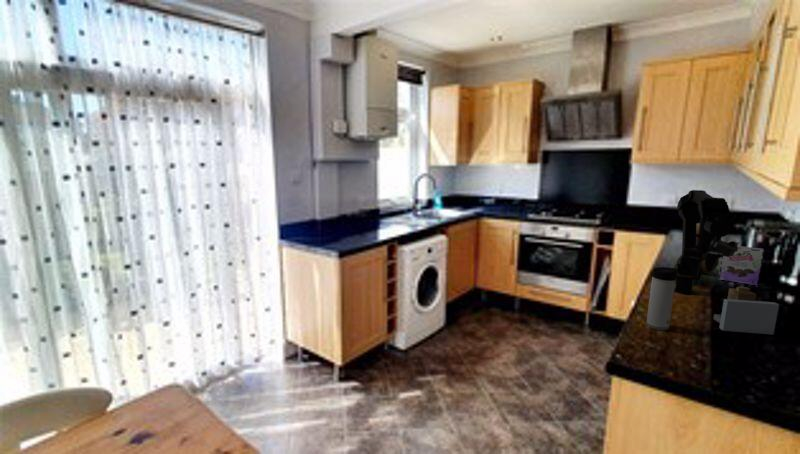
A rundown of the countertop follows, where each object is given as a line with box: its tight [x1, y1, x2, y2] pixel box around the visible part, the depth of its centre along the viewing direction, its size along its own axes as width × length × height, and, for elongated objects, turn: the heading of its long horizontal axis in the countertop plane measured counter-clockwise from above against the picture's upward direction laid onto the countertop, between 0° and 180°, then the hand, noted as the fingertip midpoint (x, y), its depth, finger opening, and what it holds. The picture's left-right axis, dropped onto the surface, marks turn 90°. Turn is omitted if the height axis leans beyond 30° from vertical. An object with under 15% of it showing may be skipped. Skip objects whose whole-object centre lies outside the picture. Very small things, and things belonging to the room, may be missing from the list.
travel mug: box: [646, 266, 678, 331], centre depth 125 cm, size 6×7×20 cm
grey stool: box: [713, 298, 780, 336], centre depth 127 cm, size 10×14×10 cm
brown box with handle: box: [727, 286, 757, 301], centre depth 127 cm, size 5×5×13 cm
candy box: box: [717, 245, 765, 287], centre depth 174 cm, size 14×6×16 cm, turn 47°
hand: (702, 273), depth 142 cm, fingers open, 9 cm apart
